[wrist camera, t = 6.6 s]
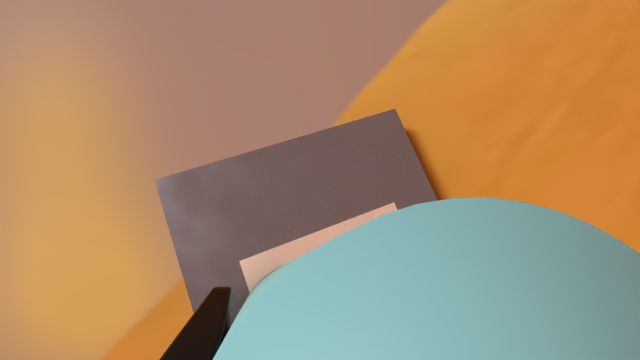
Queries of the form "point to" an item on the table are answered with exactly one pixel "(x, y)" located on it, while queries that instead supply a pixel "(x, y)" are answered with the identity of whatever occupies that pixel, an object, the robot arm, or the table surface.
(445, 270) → the teal peg
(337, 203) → the flange plate
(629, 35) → the table surface
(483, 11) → the table surface
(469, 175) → the table surface
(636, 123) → the table surface
